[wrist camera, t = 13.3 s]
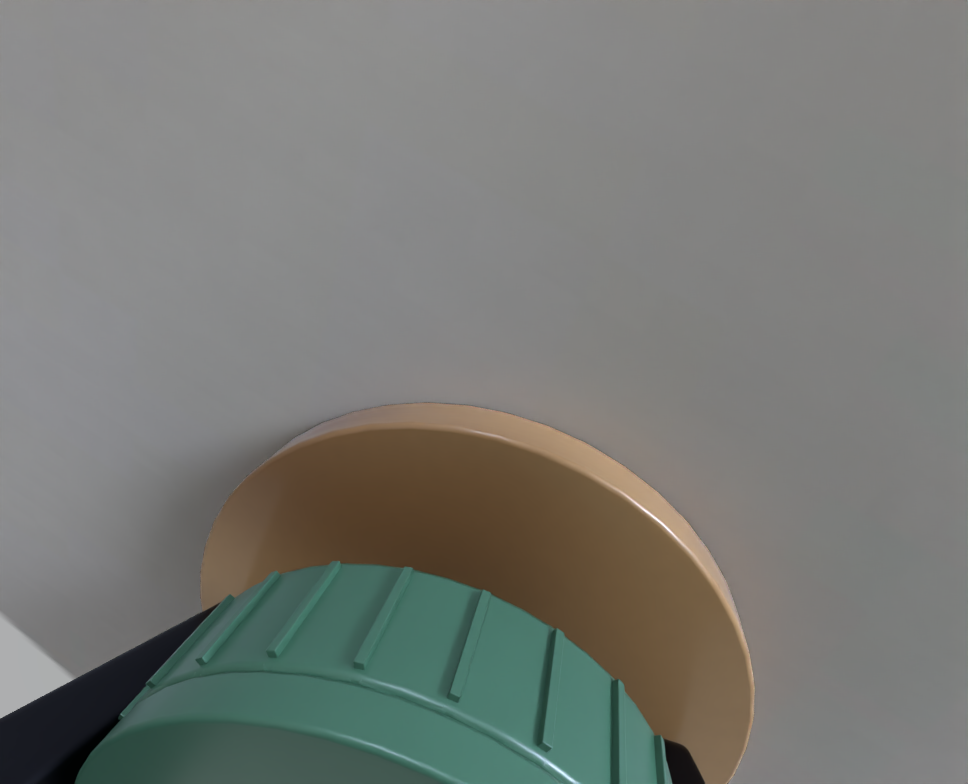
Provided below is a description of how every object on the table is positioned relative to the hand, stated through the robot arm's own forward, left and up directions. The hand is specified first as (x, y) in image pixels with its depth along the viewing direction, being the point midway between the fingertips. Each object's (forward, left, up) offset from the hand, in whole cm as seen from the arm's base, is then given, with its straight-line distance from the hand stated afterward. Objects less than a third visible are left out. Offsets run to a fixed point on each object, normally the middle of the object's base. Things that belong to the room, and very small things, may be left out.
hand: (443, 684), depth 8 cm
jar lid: (0, 0, +3) cm, 3 cm away
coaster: (0, 0, -1) cm, 1 cm away
